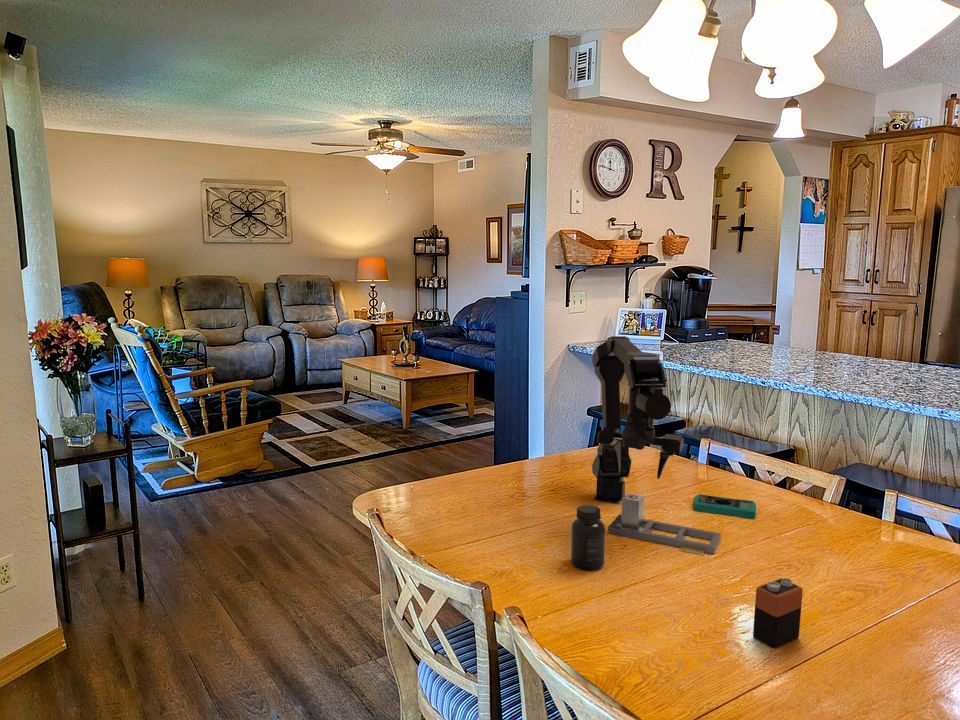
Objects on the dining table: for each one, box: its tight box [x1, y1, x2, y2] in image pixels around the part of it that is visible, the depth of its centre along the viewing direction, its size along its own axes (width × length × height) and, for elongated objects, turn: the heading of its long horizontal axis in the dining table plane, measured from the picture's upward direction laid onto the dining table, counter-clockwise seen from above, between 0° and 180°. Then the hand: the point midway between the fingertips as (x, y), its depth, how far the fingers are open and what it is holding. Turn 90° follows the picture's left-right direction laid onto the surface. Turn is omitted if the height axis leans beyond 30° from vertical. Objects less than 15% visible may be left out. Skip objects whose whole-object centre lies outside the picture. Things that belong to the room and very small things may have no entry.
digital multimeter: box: [692, 493, 757, 520], centre depth 172 cm, size 7×15×3 cm, turn 67°
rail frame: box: [607, 513, 722, 556], centre depth 155 cm, size 23×10×2 cm, turn 62°
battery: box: [752, 577, 804, 649], centre depth 114 cm, size 4×7×10 cm, turn 121°
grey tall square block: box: [620, 492, 645, 531], centre depth 158 cm, size 4×4×8 cm
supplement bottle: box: [570, 504, 606, 571], centre depth 140 cm, size 7×7×12 cm
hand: (638, 475), depth 157 cm, fingers open, 9 cm apart
